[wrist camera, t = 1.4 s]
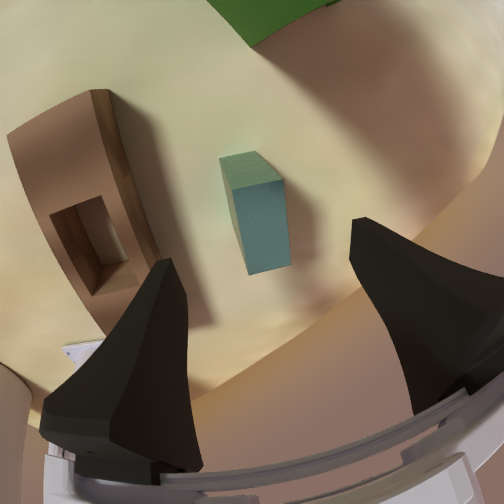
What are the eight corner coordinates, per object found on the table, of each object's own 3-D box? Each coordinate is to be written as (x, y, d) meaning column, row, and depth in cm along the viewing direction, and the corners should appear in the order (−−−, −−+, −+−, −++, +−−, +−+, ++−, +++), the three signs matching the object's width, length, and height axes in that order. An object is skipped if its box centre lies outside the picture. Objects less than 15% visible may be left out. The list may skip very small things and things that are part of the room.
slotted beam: (181, 306, 23) (182, 337, 20) (121, 319, 23) (116, 349, 20) (108, 89, 13) (89, 89, 10) (33, 124, 12) (6, 135, 10)
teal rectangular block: (264, 216, 20) (290, 264, 15) (232, 224, 20) (248, 275, 15) (254, 150, 17) (282, 179, 12) (218, 158, 17) (231, 190, 12)
